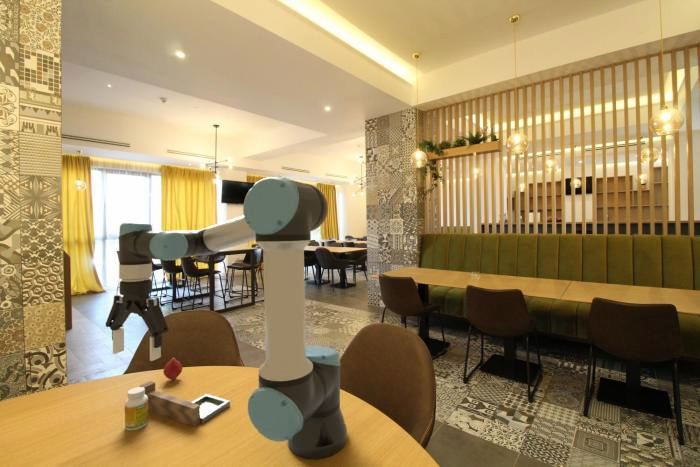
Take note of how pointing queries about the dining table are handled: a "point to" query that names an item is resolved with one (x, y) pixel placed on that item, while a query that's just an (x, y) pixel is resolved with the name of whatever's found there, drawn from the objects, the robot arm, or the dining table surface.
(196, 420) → the door edge rail
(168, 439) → the dining table surface
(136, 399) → the supplement bottle
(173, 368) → the onion
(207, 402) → the socket
